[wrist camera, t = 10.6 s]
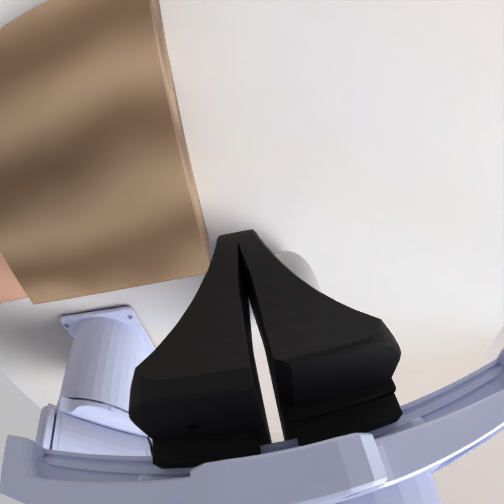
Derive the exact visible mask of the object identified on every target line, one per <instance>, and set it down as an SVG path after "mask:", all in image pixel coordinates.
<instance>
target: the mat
mask: <svg viewBox="0 0 504 504" xmlns="http://www.w3.org/2000/svg"><path fill="white" fill-rule="evenodd" d="M24 298H29V297H28V296H27V294H26V293H25V291H24V290H23V288H22V287H21V285H20V283H19V282H18V280H17V279H16V277H15V275H14V274H13V272H12V271H11V269H10V267H9V266H8V264H7V262H6V260H5V259H4V257H3V255H2V253H1V252H0V303H2V302H7V301H13V300H18V299H24Z"/></svg>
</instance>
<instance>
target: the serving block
mask: <svg viewBox="0 0 504 504" xmlns="http://www.w3.org/2000/svg"><path fill="white" fill-rule="evenodd" d="M0 252H1V253H2V255H3V257H4V259H5V260H6V262H7V264H8V266H9V267H10V269H11V271H12V272H13V274H14V275H15V277H16V279H17V280H18V282H19V283H20V285H21V287H22V288H23V290H24V291H25V293H26V294H27V296H28V297H29V299H30V300H31V302H32V303H33V304H34V305H35V304H40V303H46V302H52V301H58V300H64V299H69V298H75V297H81V296H87V295H92V294H98V293H104V292H109V291H115V290H120V289H126V288H131V287H137V286H142V285H148V284H153V283H159V282H164V281H169V280H175V279H180V278H185V277H191V276H196V275H201V274H206V273H207V270H208V268H209V265H210V257H209V240H208V234H207V230H206V226H205V222H204V218H203V214H202V210H201V205H200V201H199V197H198V193H197V189H196V184H195V180H194V176H193V171H192V167H191V163H190V158H189V154H188V149H187V145H186V140H185V136H184V131H183V126H182V122H181V117H180V112H179V107H178V102H177V98H176V93H175V88H174V83H173V78H172V72H171V67H170V62H169V57H168V51H167V46H166V40H165V35H164V29H163V23H162V17H161V11H160V5H159V0H49V1H47V2H45V3H43V4H41V5H39V6H37V7H35V8H34V9H32V10H30V11H28V12H27V13H25V14H23V15H22V16H20V17H18V18H17V19H15V20H13V21H12V22H10V23H9V24H7V25H6V26H4V27H3V28H1V29H0Z"/></svg>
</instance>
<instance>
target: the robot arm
mask: <svg viewBox="0 0 504 504" xmlns="http://www.w3.org/2000/svg"><path fill="white" fill-rule="evenodd" d="M248 297H249V299H248ZM249 300H250V304H251V307H252V310H253V313H254V316H255V319H256V323H257V326H258V329H259V332H260V335H261V338H262V341H263V345H264V348H265V352H266V357H267V361H268V366H269V371H270V375H271V380H272V385H273V389H274V394H275V399H276V403H277V408H278V413H279V417H280V422H281V427H282V431H283V436H284V441H282V442H277V443H272V442H271V437H270V432H269V428H268V423H267V418H266V413H265V408H264V403H263V398H262V394H261V389H260V384H259V379H258V373H257V368H256V363H255V358H254V352H253V345H252V334H251V322H250V311H249ZM129 315H131V316H129ZM60 322H61V324H62V325H63V327H64V328H65V329H66V331H67V332H68V333H69V335H70V336H71V337H72V338H73V343H72V347H71V350H70V354H69V358H68V362H67V366H66V370H65V374H64V378H63V383H62V387H61V392H60V397H59V401H58V403H57V406H56V409H55V405H52V404H48V406H45V407H43V408H42V410H41V415H40V420H39V425H38V431H37V436H36V442H35V441H33V440H30V439H27V438H22V437H18V436H13V435H8V436H7V440H6V446H5V452H4V459H3V465H2V473H1V482H0V492H1V494H4V495H6V496H8V497H10V498H13V499H15V500H18V501H20V502H23V503H25V504H442V501H441V498H440V495H439V492H438V490H437V487H436V484H435V481H434V479H433V476H432V473H434V472H436V471H438V470H439V469H441V468H443V467H445V466H447V465H449V464H450V463H452V462H454V461H455V460H457V459H459V458H461V457H462V456H464V455H466V454H467V453H469V452H470V451H472V450H474V449H475V448H476V447H478V446H480V445H481V444H483V443H484V442H486V441H487V440H489V439H490V438H491V437H493V436H494V435H495V434H497V433H499V432H500V431H501V430H503V429H504V349H503V350H502V351H501V352H500V354H499V355H498V358H497V359H495V360H494V361H492V362H490V363H489V364H487V365H485V366H483V367H482V368H480V369H478V370H476V371H474V372H473V373H471V374H469V375H467V376H465V377H463V378H461V379H459V380H457V381H455V382H453V383H451V384H449V385H447V386H445V387H443V388H441V389H439V390H437V391H435V392H433V393H430V394H428V395H426V396H424V397H421V398H419V399H417V400H414V401H412V402H410V403H407V404H405V405H402V406H400V405H399V403H398V401H397V398H396V396H395V394H394V392H395V391H396V386H395V384H394V382H393V380H392V376H393V373H394V371H395V369H396V367H397V365H398V362H399V360H400V356H401V350H400V347H399V345H398V343H397V341H396V340H395V338H394V336H393V335H392V333H391V332H390V330H389V329H388V328H387V327H386V325H385V324H384V323H383V321H382V320H381V319H379V318H376V317H373V316H370V315H368V314H365V313H362V312H360V311H357V310H354V309H352V308H350V307H348V306H346V305H343V304H341V303H339V302H337V301H335V300H333V299H332V298H330V297H328V296H326V295H325V294H323V293H321V292H319V291H318V290H316V289H315V288H313V287H312V286H310V285H309V284H307V283H306V282H305V281H303V280H302V279H301V278H299V277H298V276H297V275H295V274H294V273H293V272H292V271H291V270H290V269H288V268H287V267H286V266H285V265H284V264H283V263H282V262H281V261H280V260H279V259H278V258H277V257H276V256H275V255H274V254H273V253H272V252H271V251H270V250H269V249H268V248H267V247H266V245H265V244H264V243H263V242H262V240H261V239H260V238H259V236H258V235H257V233H256V232H255V231H254V230H246V231H241V232H236V233H231V234H226V235H220V236H219V237H218V239H217V244H216V248H215V251H214V254H213V257H212V260H211V263H210V265H209V268H208V270H207V273H206V275H205V277H204V279H203V281H202V283H201V286H200V288H199V290H198V292H197V293H196V295H195V297H194V299H193V300H192V302H191V304H190V305H189V307H188V309H187V310H186V312H185V313H184V314H183V316H182V317H181V319H180V320H179V322H178V323H177V324H176V326H175V327H174V328H173V330H172V331H171V332H170V333H169V334H168V335H167V337H166V338H165V339H164V340H163V341H162V343H161V344H160V345H159V346H158V347H157V348H156V349H155V347H154V345H153V344H152V342H151V340H150V339H149V337H148V335H147V334H146V332H145V330H144V328H143V327H142V325H141V323H140V321H139V320H138V318H137V316H136V314H135V312H134V311H133V309H132V308H131V307H120V308H113V309H107V310H101V311H94V312H88V313H81V314H74V315H67V316H62V317H61V318H60Z"/></svg>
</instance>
